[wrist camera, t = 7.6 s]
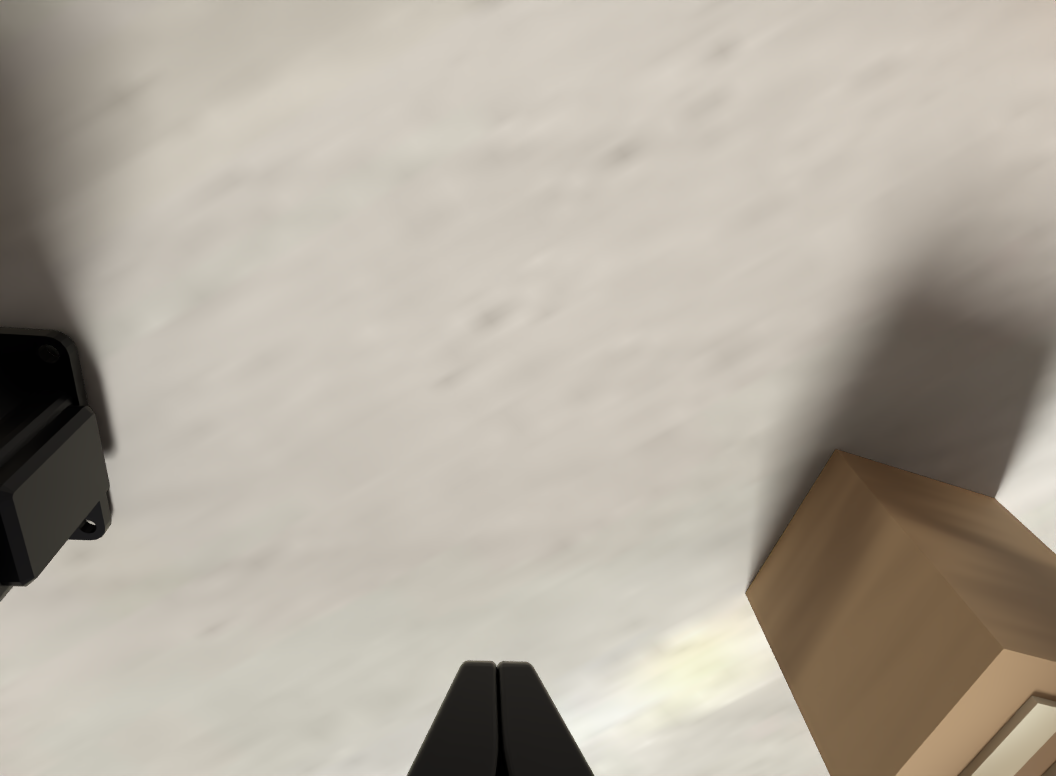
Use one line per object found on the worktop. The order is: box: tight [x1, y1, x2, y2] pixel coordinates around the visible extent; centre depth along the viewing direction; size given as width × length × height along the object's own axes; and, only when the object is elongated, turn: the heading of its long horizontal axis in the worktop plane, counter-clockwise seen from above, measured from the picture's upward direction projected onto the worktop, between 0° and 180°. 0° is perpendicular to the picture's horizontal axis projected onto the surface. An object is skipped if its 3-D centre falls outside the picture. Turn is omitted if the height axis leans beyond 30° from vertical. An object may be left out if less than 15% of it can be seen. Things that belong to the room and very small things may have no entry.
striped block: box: [745, 449, 1056, 776], centre depth 20 cm, size 6×6×8 cm
